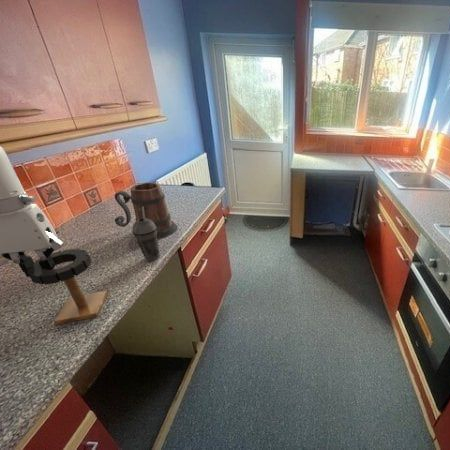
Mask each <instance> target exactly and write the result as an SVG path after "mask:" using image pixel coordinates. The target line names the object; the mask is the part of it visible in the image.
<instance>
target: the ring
mask: <svg viewBox="0 0 450 450" xmlns="http://www.w3.org/2000/svg"><path fill="white" fill-rule="evenodd" d="M50 256H51V258H52V260H53V262H54V264H55V266H57V265H61V264H64V263H68V264H67V265H65V266H62V267H59V268H54V269H52V270H45V269H42V267H41V266H40V264H39V261H40V258H38V259H36V260H34V262H33V263H32V264H31V265H30V266H29V267H28V269H27V272H28V275H29V276H30V277H29V278H30V280H31V282H32V283H33V284H37V285H51V284H58V283H60V282H61V283H62V282H64V281H65V280H68V279H70V278H73V277H75V276H79V275H80V274H82V273H83V272H85V271H86V270H88V269H89V268H90V266H91V265H92V260H91V256H90V255H89V253H88V252H87V250H85V249H79V248H76V249H75V248H70V249H64V250H59V251H54V252H52V254H51V255H50ZM75 278H76V277H75Z"/></svg>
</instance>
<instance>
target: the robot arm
mask: <svg viewBox="0 0 450 450" xmlns="http://www.w3.org/2000/svg"><path fill="white" fill-rule="evenodd" d="M36 201H37V199H36V197H35V196H34V195H31V196H30V195H28V193H27V192H26V191H25V188H24V187H23V185H22V183H21V181H20V179H19V177H18V175H17V173H16V170H15V169H14V167H13V165H12V163H11V161H10V158H9V157H8V155H7V153H6V151H5V149H4V148H3V147H2V146H1V145H0V257H1V258H4V259H7V260H10V261H12V263H13V264H14V265H15V264H16V265H18V266H19V267H20V270H21V272H23V273H24V275H25V277H27V278H30V276H29V275H28V272H27V269H28V267H29V266H30V265H31V264H32V263H33V262H35V260H33V257H31V256H30V255H27V252H30V251H34V252H35V254H36V256H37V257H38V259H40V261H39V264H40V266H41V267H42V269H45V270H52V269H55V267H56V265H55V264H54V262H53V260H52V258H51V256H50V255H51V254H52V253H54V252H56V251H57V250H59V249H61V248H62V247H63V246H64V245H65V243H64V242H63V241H62V240H61V239H59V238H58V234H57V231H56V230H55V228H54V226H53V225H52V223H51V222H50V219H49V218H48V217H47V215H46V213H44V211H43V210H42V208H40V207H39V206H38V204H37V203H36Z"/></svg>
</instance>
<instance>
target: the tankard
mask: <svg viewBox="0 0 450 450" xmlns="http://www.w3.org/2000/svg"><path fill="white" fill-rule="evenodd" d="M120 195H121V196H122V198H121V196H120ZM114 200H115V201H116V202H117V204H118V205H119V207H121V208H122V209H123V211H124V213H125V217H126V220H125V217H124V216H123V215H119V216H117V217H116V218H114V223H115V225H117V226H118V227H120V228H121V227H122V228H124V227H127V226H128V225H129V224H130V223H131V220H132V215H131V211H130V208H129V207H128V205H127V204H128V203H129V202H130V201H131V204H132V207H133V211H134V215H135V222H136V221H137V220H139V219H143V213H142V207H144V214H145V219H149V220H151V221H152V222H154V224H155V225H156V227H157V240H159V239H160V240H161V239H164V238H167V237H169V236H171V235H173V234H174V233H176V232H177V231H178V229H177V226H178V224H177V223H175V222H174V221H173V220H172V216H171V213H170V212H169V208H168V205H167V202H166V195H165V193H164V192H163V190H162V188H161V186H160V184H159V183H156V182H143V183H140V184H135V185H132V186H130V194H129V192H126V191H124V190H120V191H117V192H116V193H115V194H114ZM176 224H177V225H176Z"/></svg>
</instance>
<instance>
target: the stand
mask: <svg viewBox="0 0 450 450" xmlns="http://www.w3.org/2000/svg"><path fill="white" fill-rule="evenodd" d="M63 282H64V285H65V286H66V289H67V290H68V292H69V294H70V296H69V297H68V298H67V300H66V302H65V303H64V305H63V307H62V308H61V310H60V311H59V313H58V314H57V316H56V317H55V319H54V321H53V322H54V324H55V325H61V324H66V323H71V322H72V323H73V322H77V321H81V320H86V319H92V318H97V317H99V315H100V312H101V310H102V308H103V305H104V303H105V301H106V299H107V297H108V294H109V293H108V290H103V291H97V292H91V293H85V294H83V291H82V289H81V287H80V285H79V282H78V281H77V278H76V277H73V278H70V279H68V280H65V281H63Z"/></svg>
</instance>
